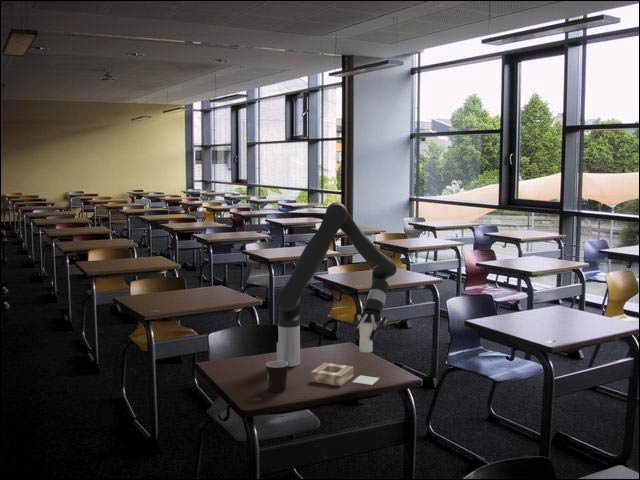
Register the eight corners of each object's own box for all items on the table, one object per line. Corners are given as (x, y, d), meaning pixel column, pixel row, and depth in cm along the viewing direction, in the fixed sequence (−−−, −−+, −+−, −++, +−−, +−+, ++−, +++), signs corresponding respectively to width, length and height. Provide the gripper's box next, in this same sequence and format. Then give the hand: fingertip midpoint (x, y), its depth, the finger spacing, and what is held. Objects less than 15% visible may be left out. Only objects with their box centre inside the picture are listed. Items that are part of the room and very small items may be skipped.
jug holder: (311, 381, 255) (311, 371, 255) (324, 371, 267) (324, 362, 266) (340, 386, 250) (340, 376, 250) (353, 376, 262) (353, 366, 261)
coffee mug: (285, 393, 242) (285, 368, 241) (263, 392, 244) (262, 366, 243) (292, 383, 254) (292, 358, 252) (271, 382, 255) (271, 357, 254)
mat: (352, 382, 254) (352, 381, 254) (360, 375, 262) (360, 375, 262) (372, 385, 251) (372, 384, 251) (379, 378, 258) (379, 378, 258)
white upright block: (355, 352, 252) (355, 325, 250) (362, 347, 258) (362, 321, 257) (367, 354, 249) (367, 326, 248) (374, 349, 256) (374, 322, 255)
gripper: (356, 296, 262) (344, 332, 253) (389, 299, 256) (379, 336, 247) (361, 306, 267) (350, 341, 258) (393, 309, 261) (383, 345, 252)
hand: (364, 338), depth 252 cm, fingers closed on white upright block, 5 cm apart
